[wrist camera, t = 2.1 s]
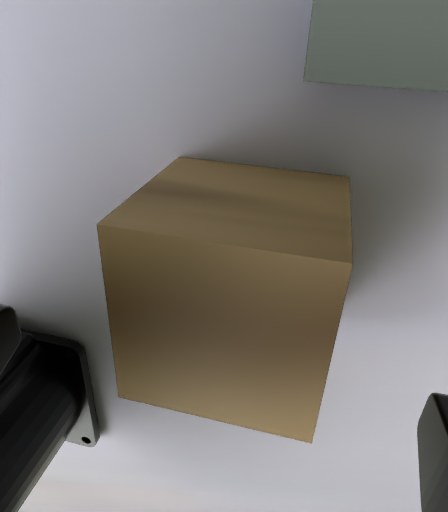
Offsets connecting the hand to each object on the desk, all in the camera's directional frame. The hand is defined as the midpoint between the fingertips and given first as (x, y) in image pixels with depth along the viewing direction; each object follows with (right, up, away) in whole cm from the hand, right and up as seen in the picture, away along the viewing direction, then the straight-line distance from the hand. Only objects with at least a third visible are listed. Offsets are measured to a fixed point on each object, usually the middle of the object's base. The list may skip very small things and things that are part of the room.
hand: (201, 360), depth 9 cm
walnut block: (+1, +3, +5) cm, 6 cm away
